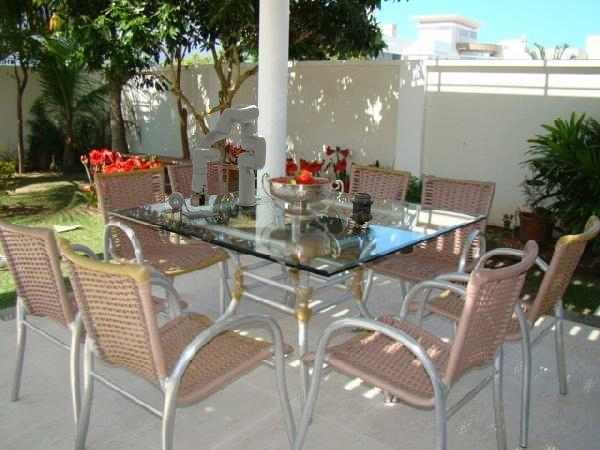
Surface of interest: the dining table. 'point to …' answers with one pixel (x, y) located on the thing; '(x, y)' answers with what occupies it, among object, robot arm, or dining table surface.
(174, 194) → the donut
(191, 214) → the mat
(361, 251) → the dining table surface
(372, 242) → the dining table surface
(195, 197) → the tan rectangular block
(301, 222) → the dining table surface
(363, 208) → the apothecary jar
